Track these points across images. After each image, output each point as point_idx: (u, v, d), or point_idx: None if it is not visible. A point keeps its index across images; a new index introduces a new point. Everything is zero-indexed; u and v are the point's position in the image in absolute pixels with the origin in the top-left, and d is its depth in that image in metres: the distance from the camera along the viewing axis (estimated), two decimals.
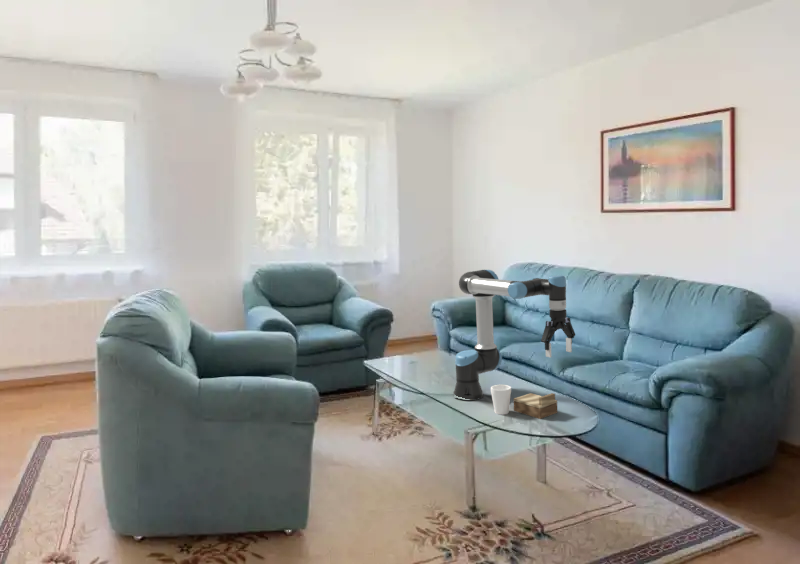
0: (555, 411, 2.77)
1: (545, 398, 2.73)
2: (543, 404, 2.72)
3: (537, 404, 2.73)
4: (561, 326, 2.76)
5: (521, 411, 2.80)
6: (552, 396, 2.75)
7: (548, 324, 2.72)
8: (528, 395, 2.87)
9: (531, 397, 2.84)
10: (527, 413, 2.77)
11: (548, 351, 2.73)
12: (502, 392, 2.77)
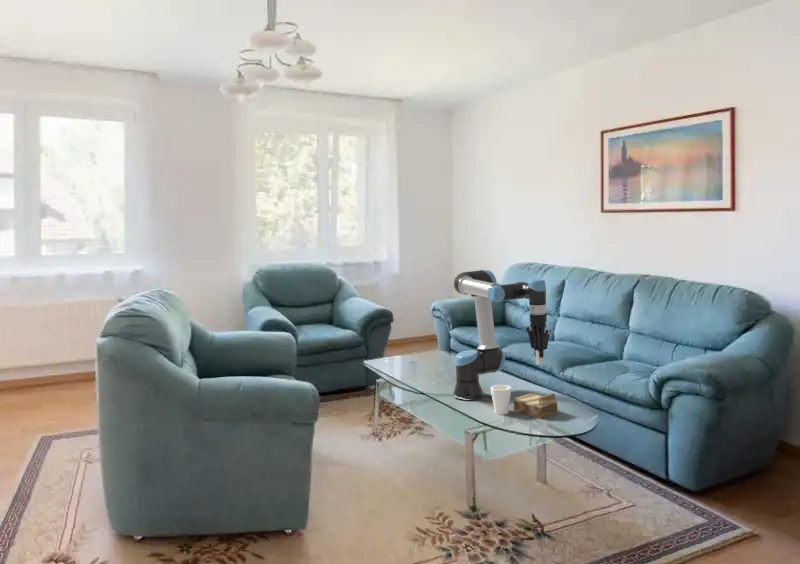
0: (555, 411, 2.77)
1: (545, 398, 2.73)
2: (543, 404, 2.72)
3: (537, 404, 2.73)
4: None
5: (521, 411, 2.80)
6: (552, 396, 2.75)
7: None
8: (528, 395, 2.87)
9: (531, 397, 2.84)
10: (527, 413, 2.77)
11: None
12: (502, 392, 2.77)
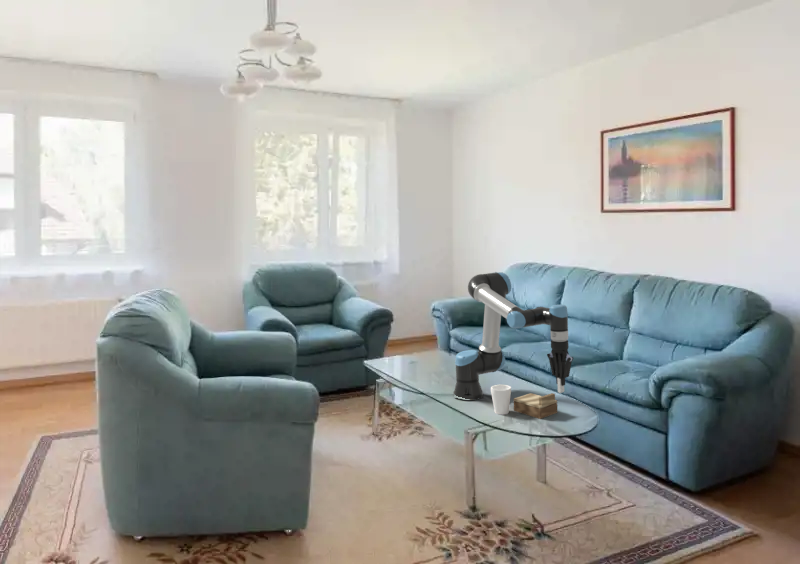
0: (555, 411, 2.77)
1: (545, 398, 2.73)
2: (543, 404, 2.72)
3: (537, 404, 2.73)
4: None
5: (521, 411, 2.80)
6: (552, 396, 2.75)
7: None
8: (528, 395, 2.87)
9: (531, 397, 2.84)
10: (527, 413, 2.77)
11: None
12: (502, 392, 2.77)
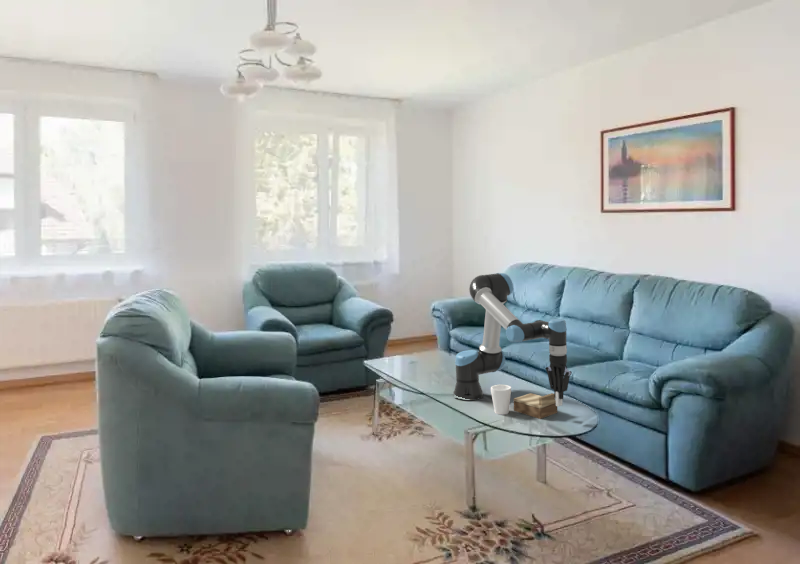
0: (555, 411, 2.77)
1: (545, 398, 2.73)
2: (543, 404, 2.72)
3: (537, 404, 2.73)
4: None
5: (521, 411, 2.80)
6: (552, 396, 2.75)
7: None
8: (528, 395, 2.87)
9: (531, 397, 2.84)
10: (527, 413, 2.77)
11: None
12: (502, 392, 2.77)
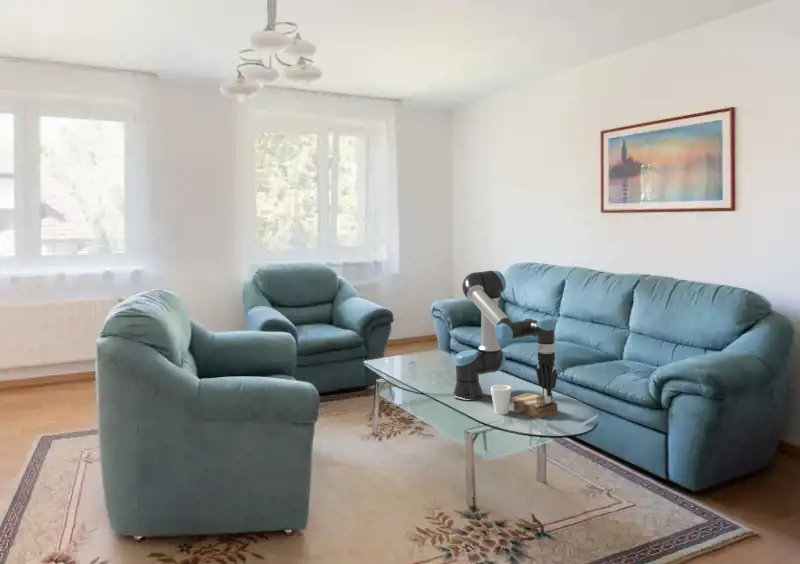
0: (555, 411, 2.77)
1: (542, 397, 2.74)
2: (540, 403, 2.73)
3: (534, 403, 2.75)
4: None
5: (521, 411, 2.80)
6: None
7: None
8: (526, 394, 2.88)
9: (529, 396, 2.86)
10: (527, 413, 2.77)
11: None
12: (502, 392, 2.77)
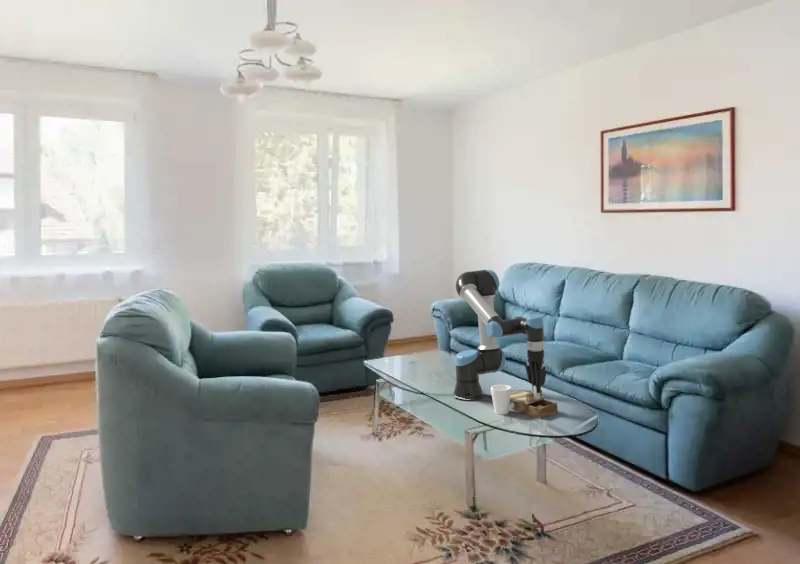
0: (555, 411, 2.77)
1: (532, 394, 2.79)
2: (530, 400, 2.78)
3: (524, 400, 2.80)
4: None
5: (521, 411, 2.80)
6: None
7: None
8: (516, 392, 2.93)
9: (519, 393, 2.91)
10: (527, 413, 2.77)
11: None
12: (502, 392, 2.77)
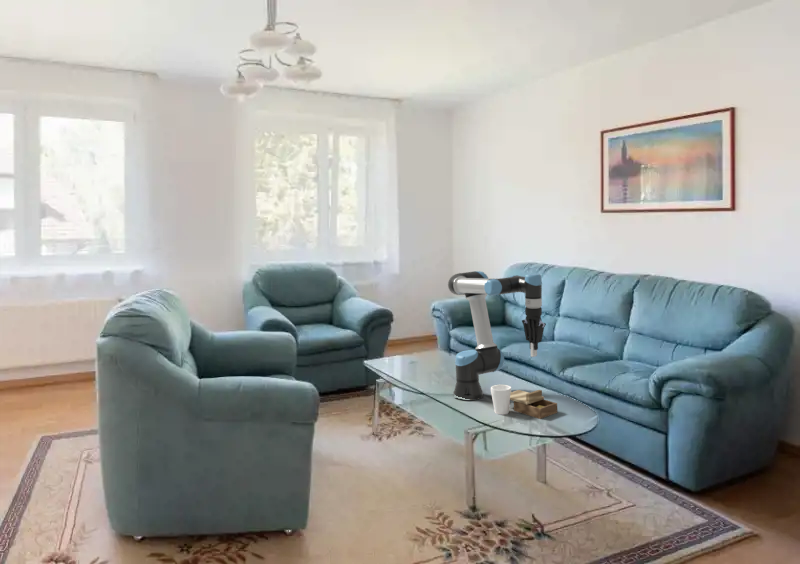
0: (555, 411, 2.77)
1: (532, 394, 2.79)
2: (530, 400, 2.78)
3: (524, 400, 2.80)
4: None
5: (521, 411, 2.80)
6: (539, 392, 2.82)
7: None
8: (516, 392, 2.93)
9: (519, 393, 2.91)
10: (527, 413, 2.77)
11: None
12: (502, 392, 2.77)
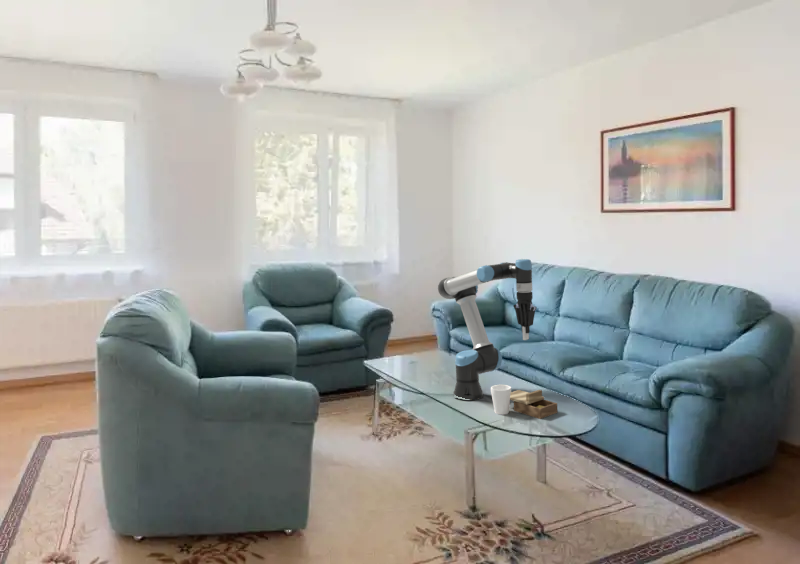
0: (555, 411, 2.77)
1: (532, 394, 2.79)
2: (530, 400, 2.78)
3: (524, 400, 2.80)
4: None
5: (521, 411, 2.80)
6: (539, 392, 2.82)
7: None
8: (516, 392, 2.93)
9: (519, 393, 2.91)
10: (527, 413, 2.77)
11: None
12: (502, 392, 2.77)
